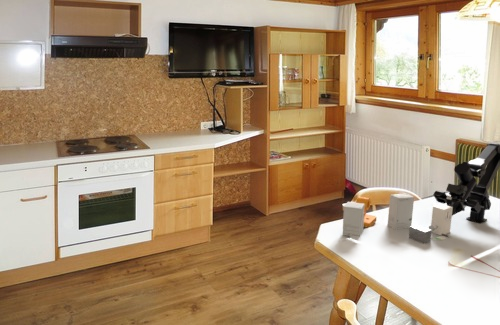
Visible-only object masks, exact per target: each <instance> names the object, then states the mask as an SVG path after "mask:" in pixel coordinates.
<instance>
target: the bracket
mask: <svg viewBox="0 0 500 325" xmlns="http://www.w3.org/2000/svg"><path fill="white" fill-rule="evenodd" d="M355 203H363V204H365V208H364V226H363V228H372V227H373V226H375V224H376V221H377V216H376V215H371V214H367V211H369V210H370V207H371V198H369V197H365V196H358V197H357V198H356V201H355Z"/></svg>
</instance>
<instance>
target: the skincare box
mask: <svg viewBox="0 0 500 325" xmlns="http://www.w3.org/2000/svg"><path fill="white" fill-rule="evenodd" d="M414 199H415V196H413V195H410V194H408V193H397V194H395V193H393V194H390V196H389V204H388V205H389V207H388V216H387V226H389V227H390V228H392V229H393V230H402V229H406V228H407V229H410V226H412V221H413V211H414V203H415V200H414Z"/></svg>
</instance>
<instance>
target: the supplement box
mask: <svg viewBox="0 0 500 325" xmlns="http://www.w3.org/2000/svg"><path fill="white" fill-rule="evenodd" d="M364 208H365V204H363V203H356V202H354V201H353V202H352V201H347V202H346V203H345V204H344V206H343V217H342V218H343V219H342V236H346V237H349V235H351V236H359V237H361V236H362V234H363V232H364V227H363V226H364Z"/></svg>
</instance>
